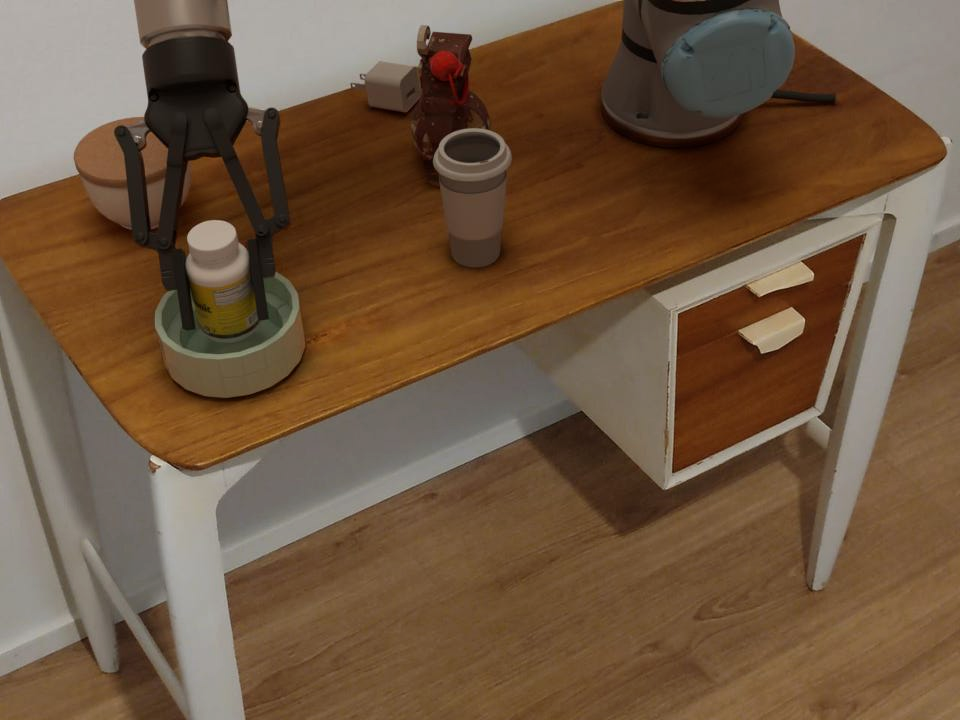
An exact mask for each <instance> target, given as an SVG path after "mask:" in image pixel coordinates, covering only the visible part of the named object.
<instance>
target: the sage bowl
mask: <svg viewBox="0 0 960 720" xmlns="http://www.w3.org/2000/svg"><path fill="white" fill-rule="evenodd" d="M263 281H264V288H265V295H266V302H267V309H268V316H269V319H268V320H262V321H261V324H260V326H259V328H258V329H257V330H256V331H255V332H254V333H253V334H252V335H251V336H249V337H247V338H245V339H243V340H240V341H237V342H231V343H221V342H216V341H213V340H211V339H209V338H207V337H206V336H205V335H204V334H203V333H202V331H201V329H200V326H199V323H198V319H197V315H196V310H195V306H194V302H193V298H192V294H191V299H192V307H193V314H194V321H195V328H196V329H194V330H187V331H186V330H184V329H182V321H181V314H180V307H179V300H178V293H177V290H174V291H167V292H165V294H164V295H162V296H161V299H160V301H159V303H158V304H157V307H156V308H155V311H154V330H155V333H156V337H157V341H158V345H159V348H160V352H161V356H162V359H163V364H164V367H165V369H166V370H167V372H168V374H169V377H170V378H171V379H172V380H173V381H174V382H175V383H177V384H178V385H180V386H181V387H182V388H183V389H185V390H186V391H189V392H191V393H195V394H198V395H200V396H203V397H210V398H221V399H229V398H235V397H243V396H248V395H249V396H250V395H252V394H255V393H258V392H262V391H263V390H266V389H269V388H271V387H273V386H275V385H276V384H277V383H279V382H280V381H282V380H284V379H285V378H286V377H288V376H289V375H290V374H291V372H293V370H294V369H295V367H297V366H298V364H299V363H300V362H301V359H302V357H303V354H304V352H305V349H306V338H305V337H306V336H305V330H304V323H303V317H302V311H301V305H300V297H299V293H298V291H297V290H296V288H295V287H294V285H293V284H292V282H291V281H290V279H288V278H286V277H285V276H283V275H282V274H280V273H279V272H278V271H276V273H275V277H272V278H264V279H263ZM190 292H191V290H190Z"/></svg>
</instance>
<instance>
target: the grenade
mask: <svg viewBox="0 0 960 720" xmlns="http://www.w3.org/2000/svg"><path fill="white" fill-rule="evenodd" d="M427 40H428V43H427ZM472 41H473V36H472V34H469V33H458V32H457V33H456V32H442V31H431V27H430V25H424V24H421V25H420V26H419V28H418V31H417V37H416V53H417V54H418V56H419V57H421V59H419V63H418V66H417V71H418V75H420V76H419V84H420V90H422V95H421V97H420V98H419V100H418V101H417V102H416V105H415V107H414V109H413V111H412V115H411V118H410V134H411V138H412V141H413V145H414V147H415V149H416V150H417V151H418V153H419V154H420V156H421V157H422V163H421V164H422V165H421V167H422V171H423V174H424V176H425V178H426V180H427V181H428V183H429V184H430V185H431V186H432V187H436V188H440V182H439V172H438V171H437V170H436V169H435V167H434V165H433V158H434V154H435V152H436V151H437V149H438V148H439V144H440V142H441V140H442V139H443V138H444V137H446V136H447V135H449V134H451V133H453V132H455V131H458V130H462V129H469V128H479V129H486V130H490V131H491V126H492V125H491V124H492V123H491V117H490V115H489V112H488V109H487V107H486V105H485V103H484V101H482V99H481V98H479V96H478V95H477V94H476V93H475V92H473V91H471V90H470V89H469V88H470V78H469V77H470V76H469V72H470V68H471V63H472V55H471V52H470V45H471V44H472Z"/></svg>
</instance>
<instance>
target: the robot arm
mask: <svg viewBox="0 0 960 720" xmlns="http://www.w3.org/2000/svg"><path fill="white" fill-rule="evenodd" d="M133 3H134V10H135V17H136V22H137V25H136V26H137V31H138V38H139V43H140V45H141V46H142V47H143V48H144V49H145V50H144V52H143V53H142V55H141V60H142V67H143V75H144V81H145V87H146V95H147V106H146V109H145V112H144V113H143V117H144V119H142V120H140V121H138V122H136V123H134V124H132V125H129V126H127V127H126V126H124V125H120V126H117V127H116V128H115V130H114V134H115V137H116V139H117V141H118V143H119V145H120V147H121V149H122V151H123V153H124V159H125V169H126V178H127V188H128V198H129V207H130V217H131V226H132V230H131V236H132V240H133V242H134V243H135V244H136V245H137V246H139V247H140V248H141V249H148V250H153V251H156V252H157V254H158V259H159V260H158V261H159V268H160V275H161V283H162V286H163V287H164V289H165V291H167V292H168V291H174V290H177V293H178V300H179V307H180V314H181V321H182V329H184V330H186V331H187V330H194V329H196V328H195V321H194V314H193V307H192V299H191V292H190V286H189V282H188V278H187V274H186V269H185V263H186V259H187V256H186V251H185V250H184V249H183V248H181V247H180V248H177V247H176V243H177V236H178V230H179V223H180V222H179V221H180V216H181V215H180V214H181V207H182V206H181V201H182V194H183V187H184V180H185V174H186V171H187V165H188V161H190V162H192V161H197V160H199V159H202V158H204V157H205V158H212V159H216V158H221V159H222V162H223V163H224V166H225V168H226V171H227V172H228V174H229V177H230V180H231V183H232V184H233V186H234V189H235V191H236V193H237V195H238V197H239V200H240V202H241V205H242V207H243V209H244V211H245V213H246V216H247V219H248V220H249V223H250V225H251V227H252V229H253V232H254V236H255V238H249V239H246V244H247V251H248V253H249V260H250V267H251V274H252V281H253V288H254V295H255V302H256V309H257V316H258V319H259V320H268V319H269V316H268V309H267V302H266V295H265V288H264V281H263V279H264V278H272V277H275V273H276V272H277V270H276V262H275V255H274V248H273V239H274V237H275V236H276V235H278V234H279V233H282V232H283V231H287V230H289V228H291V225H292V220H291V214H290V209H289V203H288V198H287V191H286V186H285V180H284V174H283V168H282V163H281V157H280V152H279V146H278V139H279V138H278V137H279V132H280V126H281V116H280V112H279V110H278V109H277V108H275V107H268V108H266V109H262V108H259V107H252V106H249V104H248V102H247V101H246V100H245V97H243V95H242V93H241V88H240V79H239V73H238V66H237V59H236V52H235V51H236V50H235V47H234V45H232V44H231V43H230V42H229V40H230V39H231V38H232V37H233V31H232V25H231V17H230V10H229V2H228V0H133ZM622 3H623V7H622V23H621V24H622V27H621V41H620V43H619V46H618V48H617V51H616V53H615V55H614V58H613V61H612V63H611V65H610V67H609V70H608V72H607V75H606V77H605V79H604V81H603V84H602V86H601V98H600V109H601V114H602V116H603V118H604V120H605V121H606V123H607V124H608V125H609V126H610V127H611V128H612V129H613V130H615V131H616V132H617V133H618V134H621V135H622V136H624V137H627V138H629V139H631V140H633V141H636V142H638V143H642V144H646V145H650V146H654V147H655V146H656V147H663V148H692V147H697V146H703V145H707V144H710V143H714V142H716V141H719V140H721V139H723V138H725V137H727V136H728V135H730V134H731V133H733V132H734V131H735V130H736V129H737V127H739V125H740V124H741V122H742V120H743V116H744V114H746V113H747V112H750V111H752V110H755V109H756V108H757V107H759V106H761V105H763V104H764V103H766V102H767V101H768V100H770V99H776V100H777V99H778V100H789V101H797V102H805V103H806V102H807V103H821V104H822V103H823V104H825V103H827V104H828V103H835V102H836V100H837V94H836V93H813V92H812V93H811V92H802V91H795V90H794V91H793V90H786V89H785V90H783V89H780V88H782V87H783V85H784V84H785V83H786V81H787V79H788V77H789V76H790V74H791V72H792V69H793V66H794V62H795V58H796V57H795V56H796V46H795V42H794V35H793V31H792V30H791V25H790V24H789V23H788V21H787V20H786V19H785V18H784V17H783V14H782V11H781V5H780V0H623V2H622ZM247 121H248V122H249V123H251V124H252V129H253V132H254V134H256V135H257V136H258V137H260V140H261V147H262V153H263V159H264V165H265V168H266V169H265V170H266V176H267V181H268V182H267V183H268V187H269V193H270V199H271V203H272V204H271V205H272V211H273V216H271V217H270V218H268V219H266V218H265V216H264V213H263V211H262V209H261V206H260V203H259V201H258V199H257V197H256V194H255V193H254V191H253V188H252V186H251V184H250V181H249V179H248V177H247V175H246V173H245V170H244V167H243V165H242V163H241V161H240V159H239V156H238V154H237V153H236V149H235V147H234V144H235V143H236V141H237V139H238V138H239V136H240V134H241V132H242V130H243V129H244V127H245V125H246V123H247ZM150 132H152V133H153V134H154V135H155V136H156V137H157V138H158V139H159V140H160V141H161V142H162V144H163V145H164V146H165V147H166V148H167V149H168V155H167V169H166V176H165V183H164V190H163V197H162V205H161V212H160V219H159V226H158V228H157V233H155V232H152V229H151V225H150V215H149V206H148V196H147V186H146V177H145V167H144V160H143V156H142V153H141V151H142V150H143V149H145V148H146V146H147V142H146V136H147V135H148V133H150Z"/></svg>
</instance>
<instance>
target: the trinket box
mask: <svg viewBox="0 0 960 720" xmlns="http://www.w3.org/2000/svg"><path fill="white" fill-rule="evenodd" d="M142 119H144V116H132V117H126V118H121V119H116V120H113V121H110V122H107V123H105V124H102V125H99V126H97V127H96V128H94V129H93V130H91V131H89V132H88V133H87V134H85V136H83V137H82V138H81V139H80V140H79V142H78V143H77V145H76V147H75V149H74V152H73V161H74V166H75V169H76V171H77V173H78V175H79V178H80V181H81V185H82V187H83V189H84V191H85V194H86V195H87V197H88V199H89V201H90V202H91V204H92V205H93V206H94V207H95V209H96V210H97V211H98V212H99V213H100V215H102V216H104V218H106V219H108V220H109V221H111V222H114V223H116V224H117V225H119V226H121V227H122V228H125V229H127V230H130V231H132V226H131V217H130V207H129V198H128V188H127V178H126V169H125V159H124V153H123V151H122V149H121V147H120V145H119V143H118V141H117V139H116V137H115V134H114V130H115V128H116V127H117V126H120V125H124V126H126V127H127V126H129V125H132V124H134V123H136V122H138V121H140V120H142ZM146 142H147V146H146V148H145V149H143V150H142V151H141V153H142V156H143V160H144V167H145V177H146V186H147V196H148V206H149V215H150V225H151V230H155V229H158V226H159V219H160V212H161V205H162V197H163V190H164V183H165V176H166V169H167V155H168V149H167V148H166V147H165V146H164V145H163V144H162V142H161V141H160V140H159V139H158V138H157V137H156V136H155V135H154V134H153V133H152V132H150V133H148V135H147V136H146ZM191 168H192V166H191V161H188V165H187V171H186V174H185V180H184V187H183V194H182V201H181V207H182V206H183V205H184V203H185V201H186V200H187V197H188V195H189V192H190V189H191V184H192V183H191V182H192V169H191Z"/></svg>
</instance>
